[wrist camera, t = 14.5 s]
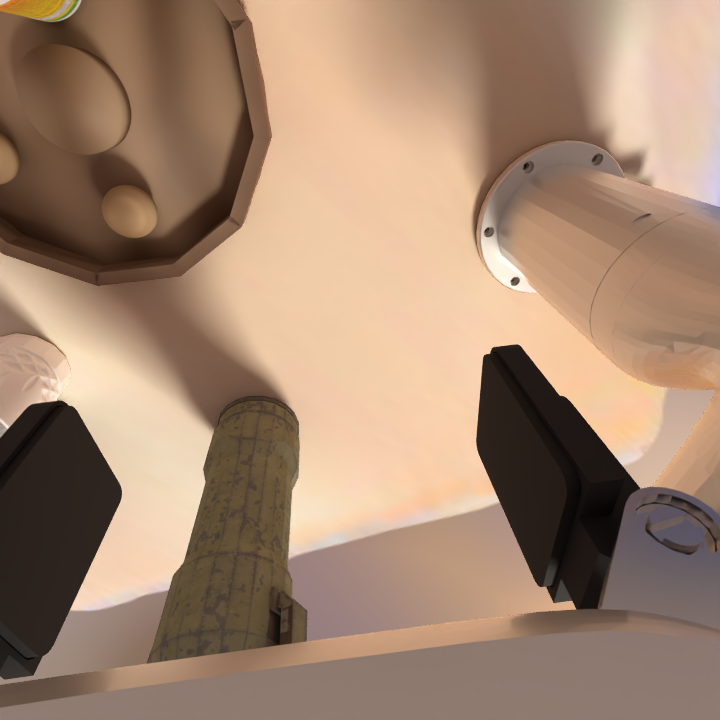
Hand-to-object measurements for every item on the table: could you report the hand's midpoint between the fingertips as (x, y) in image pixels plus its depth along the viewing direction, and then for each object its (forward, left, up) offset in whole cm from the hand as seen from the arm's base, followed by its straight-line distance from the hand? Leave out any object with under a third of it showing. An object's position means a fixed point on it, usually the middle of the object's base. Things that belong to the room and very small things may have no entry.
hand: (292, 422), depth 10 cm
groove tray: (+14, -7, -28) cm, 32 cm away
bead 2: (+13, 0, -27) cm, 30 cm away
